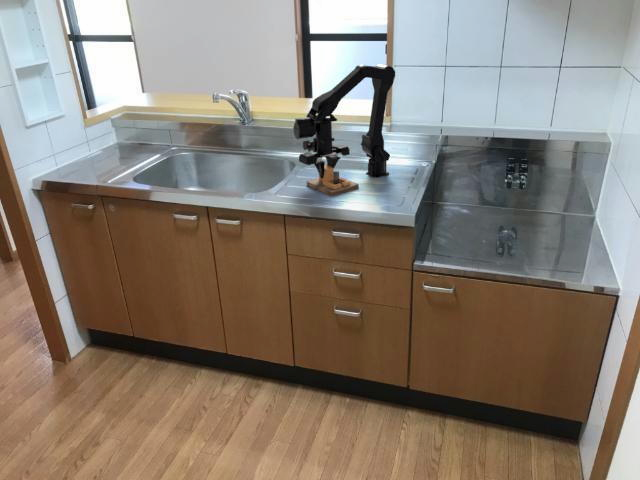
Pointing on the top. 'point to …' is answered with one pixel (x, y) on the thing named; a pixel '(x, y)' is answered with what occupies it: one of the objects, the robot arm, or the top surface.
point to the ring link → (329, 178)
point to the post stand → (327, 190)
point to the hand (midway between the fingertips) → (325, 177)
